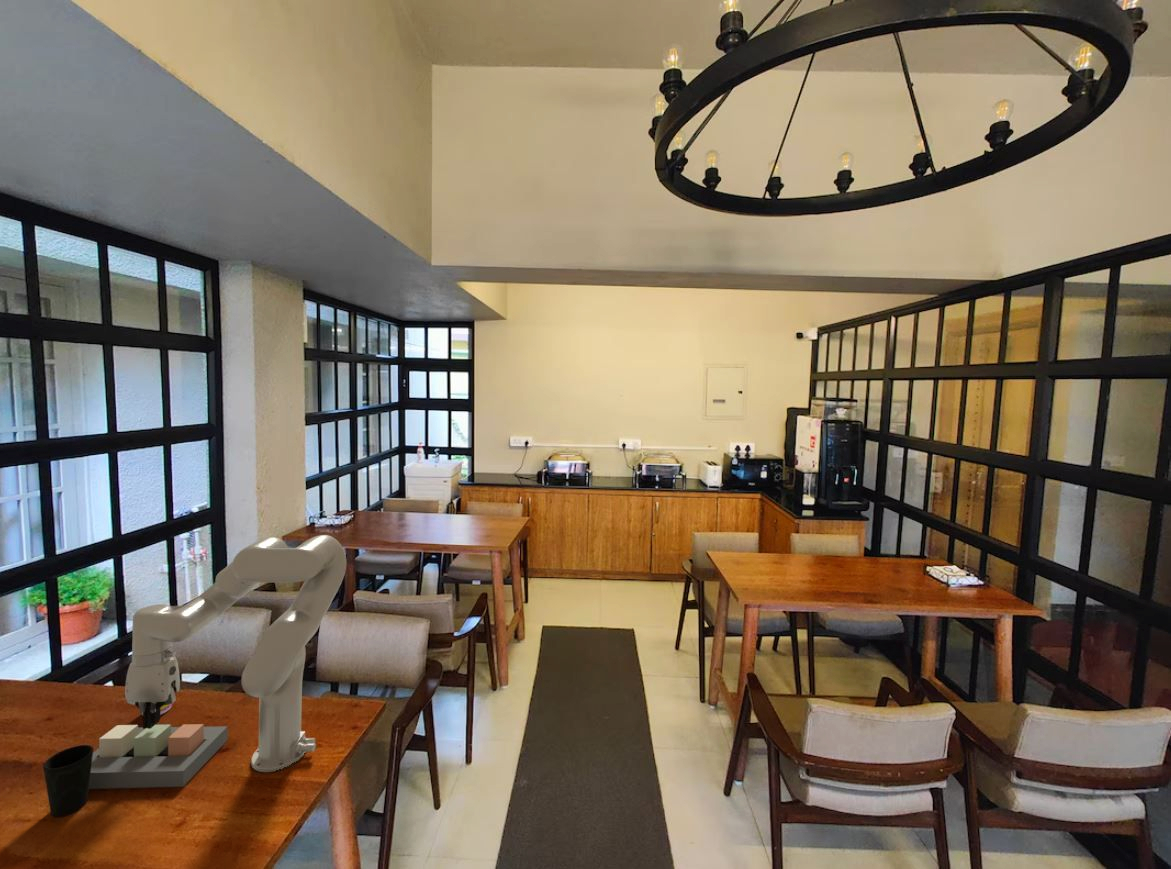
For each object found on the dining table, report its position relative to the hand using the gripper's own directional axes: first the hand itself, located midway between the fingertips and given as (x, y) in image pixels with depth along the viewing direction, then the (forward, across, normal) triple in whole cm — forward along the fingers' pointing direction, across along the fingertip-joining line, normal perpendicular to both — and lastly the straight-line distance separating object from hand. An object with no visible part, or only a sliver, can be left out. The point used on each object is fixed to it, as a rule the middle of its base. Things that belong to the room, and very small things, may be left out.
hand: (151, 725), depth 120 cm
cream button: (+7, +8, 0) cm, 10 cm away
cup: (+10, +7, +13) cm, 18 cm away
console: (+10, 0, 0) cm, 10 cm away
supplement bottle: (+11, +14, -21) cm, 28 cm away
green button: (+7, 0, 0) cm, 7 cm away
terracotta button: (+6, -8, 0) cm, 11 cm away
